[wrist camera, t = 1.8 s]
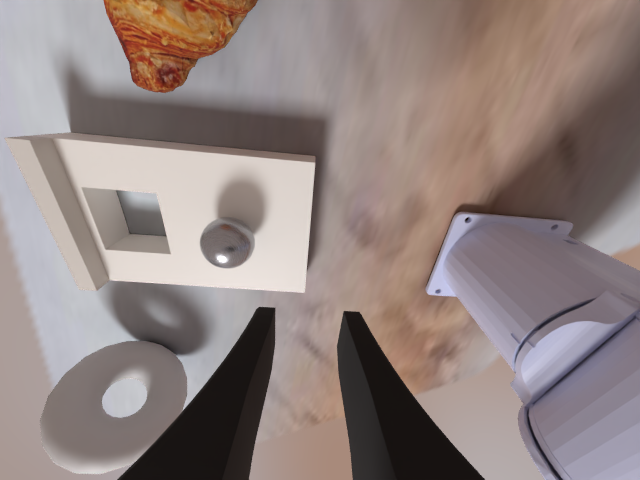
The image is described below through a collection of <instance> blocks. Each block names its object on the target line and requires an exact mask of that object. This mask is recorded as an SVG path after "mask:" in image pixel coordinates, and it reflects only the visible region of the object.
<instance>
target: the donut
mask: <svg viewBox="0 0 640 480" xmlns="http://www.w3.org/2000/svg"><path fill="white" fill-rule="evenodd" d="M130 378H131V379H137V380H139V381H141V382H142V383H143V384H144V385H145V387H146V389H147V400H146V402H145V404H144V405H143V406H142V408H141V409H140V410H139V411H138V412H136V413H135V414H133V415H131V416H128V417H123V418H117V417H112V416H110V415H108V414H107V413H106V412H105V410H104V409H103V406H102V397H103V395H104V393H105V392H106V390H107V389H108V388H109V387H110V386H111V385H112V384H114V383H115V382H117V381H120V380H123V379H130ZM186 397H187V377H186V374H185V371H184V368H183V365H182V363H181V361H180V360H179V359H178V358H177V356H176V355H175V354H174V353H173V352H172V351H170V350H169V349H167V348H165V347H164V346H162V345H160V344H156V343H152V342H148V341H126V342H122V343H118V344H114V345H110V346H106V347H104V348H102V349H100V350H98V351H96V352H94V353H92V354H90V355H88V356H86V357H85V358H84V359H82V360H81V361H80V362H79V363H77V364H76V365H75V366H74V367H73V368H71V369H70V370H69V371H68V372H67V373H66V374H65V375H64V376H63V377H62V378H61V380H60V381H59V382H58V384H57V385H56V386H55V388H54V389H53V391H52V392H51V393H50V395H49V396H48V398H47V401H46V404H45V407H44V410H43V413H42V416H41V419H40V428H41V441H42V446H43V447H44V449H45V451H46V452H47V453H48V455H49V456H50V458H51V460H52V461H53V462H54V464H57V465H59V466H61V467H63V468H65V469H67V470H69V471H71V472H73V473H81V474H102V473H105V472H109V471H112V470H115V469H119V468H122V467H126V466H128V465H129V464H131V463H133V462H135V461H136V460H138V459H139V458H140V457H141V456H142V455H143V454H144V453H145V452H146V450H147V449H148V448H149V447H150V446H151V445H152V444H153V443H154V442H155V441H156V440H157V439H158V438H159V437H160V436H161V435H162V433H163V432H164V431H165V430H166V429H167V428H168V427H169V426H170V425H171V424H172V423H173V422H174V420H175V419H176V418H177V417H178V416H179V415H180V414H181V413H182V410H183V406H184V403H185V400H186Z"/></svg>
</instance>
